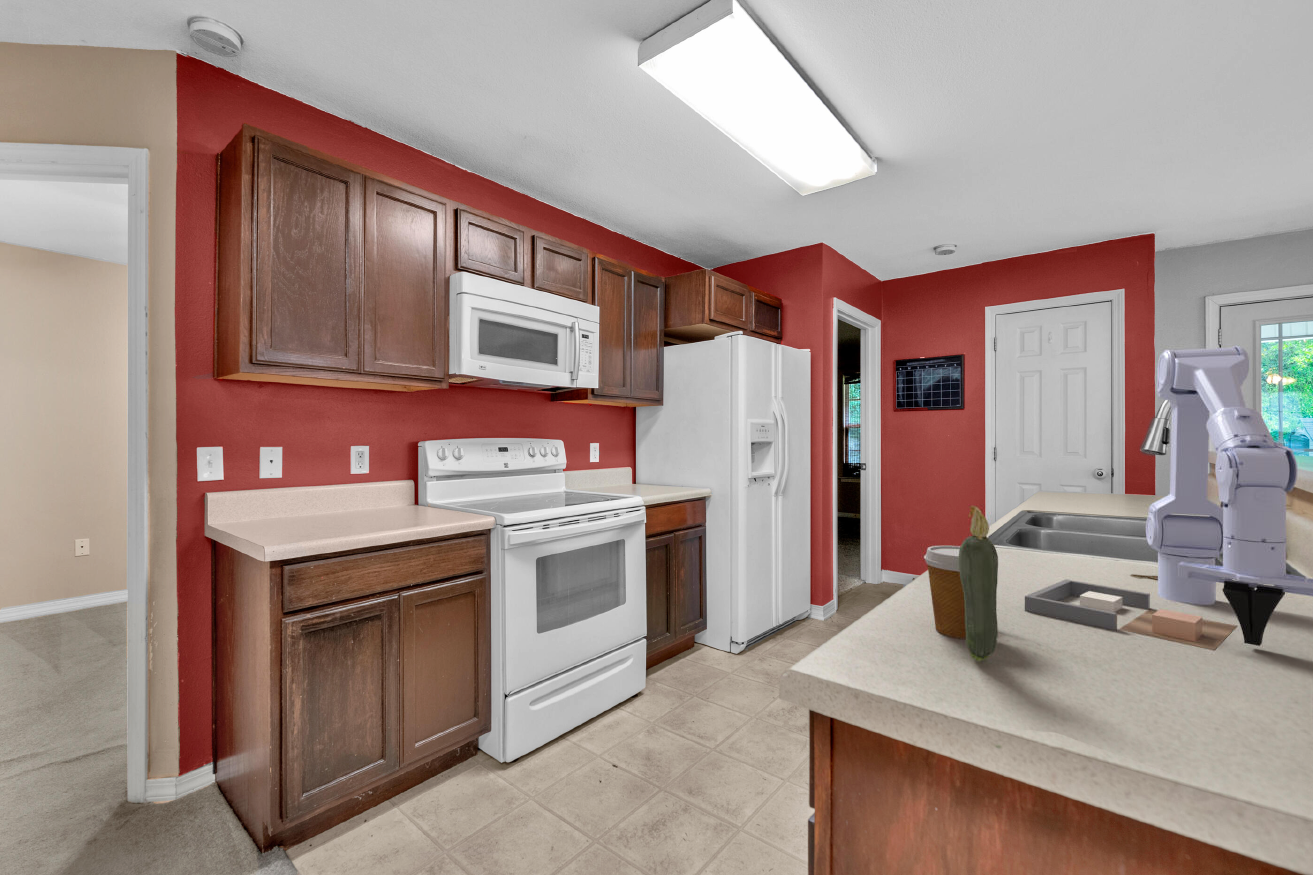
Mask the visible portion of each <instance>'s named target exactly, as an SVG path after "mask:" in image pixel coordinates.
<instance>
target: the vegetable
mask: <svg viewBox="0 0 1313 875" xmlns="http://www.w3.org/2000/svg"><path fill="white" fill-rule="evenodd" d="M969 509H970V511H969V514H968V517H969V518H970V517H972V518H971V525H970V528H969V529H970V534H972V535H970V536H967V537H966V538H965V539H964V540H963V541H962V543H961V545H960V550H959V571H960V579H961V583H962V587H963V592H964V602H965V628H966V639H965V641H966V642H965V643H966V645H967V649H968V650H969V652H970V653H969V654H970V657H971V658H972V659H974V660H975V661H976V662H977V663H978V662H980V661H982V660H983V661H986V660H988V658H989V657H990V656H991V655H992V654H993V653H994V652H995V650H996V647H997V643H998V642H997V640H998V633H999V632H998V617H997V616H998V615H997V593H998V592H997V589H998V581H999V579H998V577H999V575H998V572H999V571H998V570H999V556H998V551H997V549H996V546H995V545H994V543H993V542H992V541H991V540H990V539H989V538H988V537H987V535H988V534H989V532H990V526H989V522H988V520H987V518H986V517H985V515H984V514H983V513H982V511H981V510H980V508H979V507H976V506H975V505H971V506H970V507H969Z"/></svg>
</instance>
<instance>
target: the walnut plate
mask: <svg viewBox="0 0 1313 875" xmlns="http://www.w3.org/2000/svg"><path fill="white" fill-rule="evenodd" d="M1157 611H1158V610H1155V609H1150V608H1149V609H1147V611H1145V612H1143V613H1141V614H1140V615H1139V616H1137V617H1135V618H1134V619H1132V620H1131V621H1129V622H1128V623H1126V624H1125V625H1123V626H1122V627H1120V628H1119V629H1118V630H1119V631H1124V632H1128V633H1132V634H1138V635H1142V636H1146V637H1151V638H1154V639H1155V638H1156V639H1160V640H1164V641H1169V642H1174V643H1178V644H1184V645H1188V646H1192V647H1197V648H1202V649H1206V650H1209V651H1210V650H1212V651H1215V650H1216V649H1217V648H1218V647H1219V646H1220V645H1221V644H1222V643H1223V642H1224V641H1225V640H1226V639H1227V637H1229V636H1230V634H1231V633H1232V632H1233V631H1234V630H1235V629H1236V628H1237V627H1238V625H1235V624H1229V623H1226V622H1225V623H1224V622H1221V621H1220V622H1219V621H1216V620H1215V621H1213V620H1208V619H1203V618H1202V635H1201V636H1200V637H1199V638H1198V639H1197V640H1196V641H1191V640H1186V639H1181V638H1177V637H1172V636H1167V635H1162V634H1158V633H1153V632H1152V615H1153V614H1154V613H1156V612H1157Z"/></svg>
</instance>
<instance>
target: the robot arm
mask: <svg viewBox="0 0 1313 875" xmlns="http://www.w3.org/2000/svg"><path fill="white" fill-rule="evenodd" d="M1156 367H1157V370H1156V373H1157V375H1156V391H1157V392H1156V393H1157V396H1158V398H1159V399H1163V400H1165V401H1168V402H1169V406H1170V410H1171V430H1170V431H1171V433H1170V434H1171V435H1170V436H1171V437H1170V470H1169V471H1170V475H1169V476H1170V477H1169V479H1170V480H1169V481H1170V482H1169V494H1168V495H1166V496H1164V497H1161V498H1160V499H1158V500H1157V501H1155V502H1153V503H1151V504H1150V505H1149V507H1148V513H1147V518H1146V522H1145V536H1146V540H1147V544H1148V545H1149V546H1150V547H1151V548H1152V549H1153V550H1156V551H1157V596H1158V597H1159V598H1161V599H1165V600H1169V601H1173V602H1177V603H1182V604H1188V605H1199V606H1200V605H1201V606H1212V605H1215V604H1216V602H1218V600H1217V583H1221V584H1223V588H1222V592H1223V593H1222V594H1223V595H1224V597H1225V599H1226V600H1227V601H1228V603H1229V604H1230V606H1231V608H1232V610H1233V611H1234V613H1235V616H1236V617H1237V620H1238V622H1239V626H1240V629H1241V632H1242V636H1243V644H1244V643H1245V644H1247V645H1252V646H1258V647H1260V646H1261V645H1262V644H1263V638H1264V633H1265V630H1266V627H1267V624H1268V622H1269V620H1270V619H1271V616H1272V614H1273V612H1274V610H1275V609H1276V608H1277V606H1278V605H1279V604H1280V601H1281V600H1282V599H1283V597H1285V595H1286V593H1289V594H1295V595H1302V596H1309V597H1313V578H1310V577H1303V576H1298V575H1292V574H1287V493H1289V492H1291V491H1292V490H1293V489H1294V488H1295V485H1296V483H1297V479H1298V464H1297V459H1296V456H1295V454H1294V451H1293V449H1291V448H1290V447H1288V446H1284V445H1283V443H1282V442H1275V441H1274V439H1273V436H1272V434H1271V433H1270V431H1269V429H1268V426H1267V424H1266V422H1265V421H1264V418H1263V416H1262V415H1261V413H1260V412H1258V411H1257V410H1255V409H1254V408H1249V407H1247V406H1246V401H1245V399H1244V395H1243V392H1242V388H1241V387H1242V386H1243V384H1244V382H1245V381H1246V379H1247V377H1248V375H1249V370H1250V357H1249V355H1248V352H1247V350H1245V349H1244V348H1243V347H1242V346H1240V345H1234V346H1232V347H1231V346H1230V347H1215V348H1214V347H1213V348H1210V347H1209V348H1197V349H1196V348H1195V349H1194V348H1193V349H1192V348H1191V349H1176V350H1175V349H1174V350H1173V349H1165V350H1163V353H1161V354H1160V356H1159V358H1158V363H1157V366H1156ZM1209 440H1211V443H1212V445H1213V449H1214V451H1215V453H1216V455H1217V457H1216V459H1215V467H1214V469H1215V470H1214V472H1215V479H1216V483H1217V488H1218V498H1219V502H1222V505H1223V506H1220V505H1218V504H1217V503H1216V502H1213V501H1212V500H1210V499H1209V498H1208V486H1209V485H1208V482H1209V480H1208V478H1209V477H1208V476H1209V446H1210V445H1209V444H1210V442H1209ZM1221 554H1222V566H1221V565H1216V558H1220V555H1221ZM1219 602H1222V603H1223V601H1221V600H1219Z"/></svg>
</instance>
